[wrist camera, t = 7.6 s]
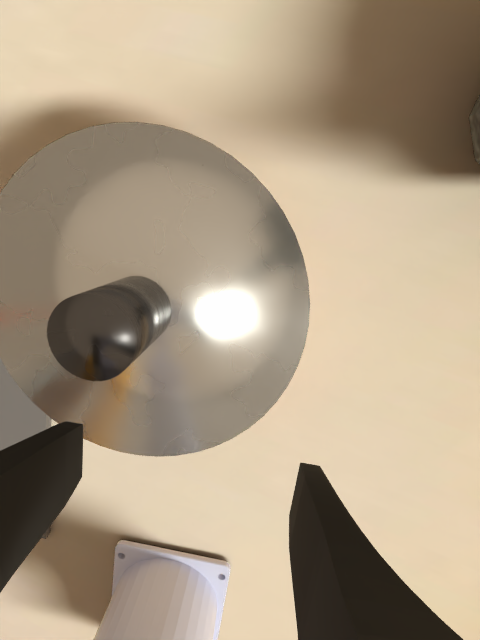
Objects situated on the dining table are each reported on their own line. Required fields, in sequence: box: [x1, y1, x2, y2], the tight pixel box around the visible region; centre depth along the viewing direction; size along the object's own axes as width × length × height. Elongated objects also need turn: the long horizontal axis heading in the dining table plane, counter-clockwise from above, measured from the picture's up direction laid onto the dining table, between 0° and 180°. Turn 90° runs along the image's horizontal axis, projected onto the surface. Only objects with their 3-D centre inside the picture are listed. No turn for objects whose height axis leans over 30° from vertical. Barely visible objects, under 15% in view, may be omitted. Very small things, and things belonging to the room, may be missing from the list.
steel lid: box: [0, 122, 310, 456], centre depth 13 cm, size 14×14×5 cm
